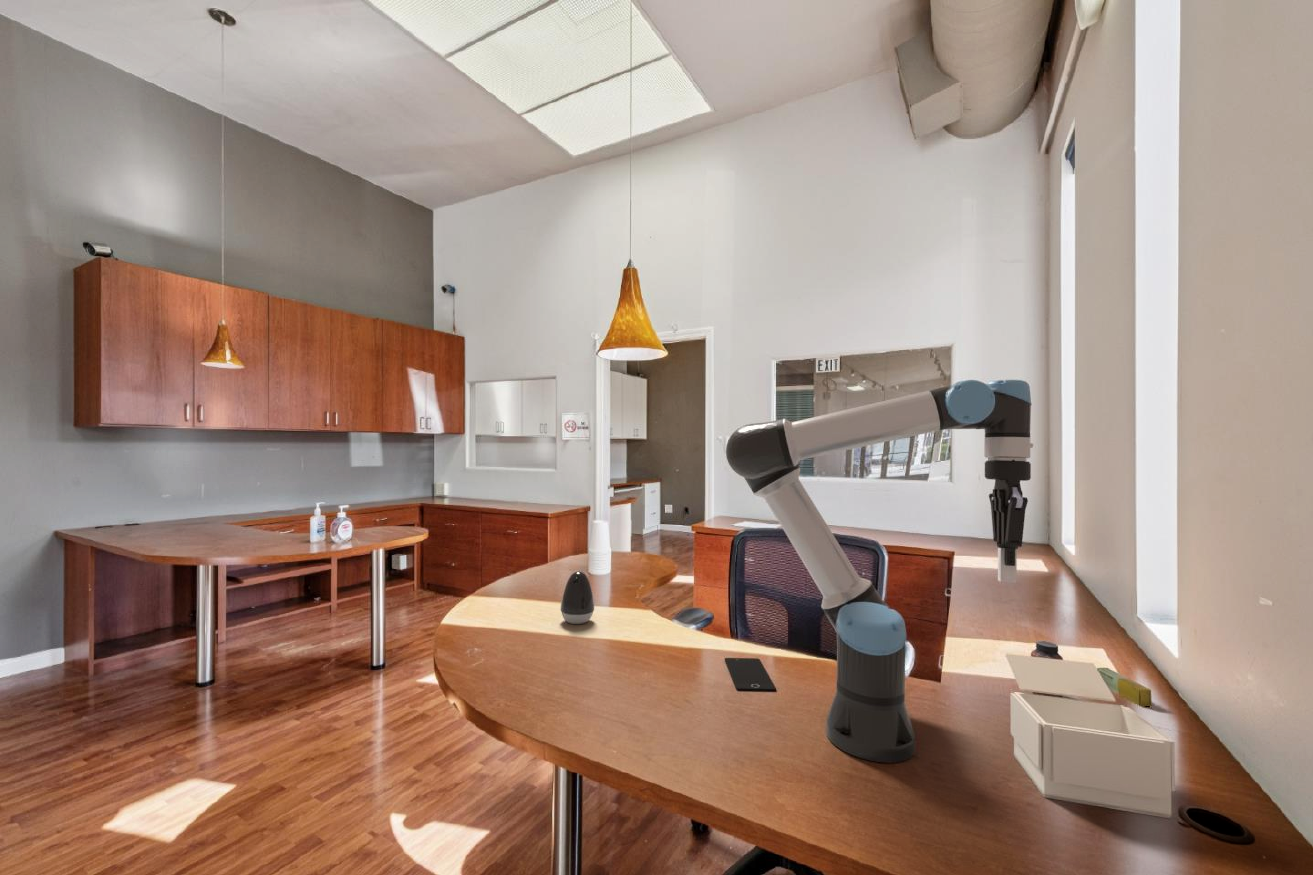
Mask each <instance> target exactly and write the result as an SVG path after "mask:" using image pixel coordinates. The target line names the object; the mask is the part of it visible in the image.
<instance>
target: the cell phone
mask: <svg viewBox="0 0 1313 875" xmlns="http://www.w3.org/2000/svg"><path fill="white" fill-rule="evenodd" d="M724 663H725V665H726V667H727V671H728V674H729V675H730V678H731V681H732V683H733V686H734V688H735V690H736V691H738V692H777V687H776V686H775V683H774V682H773V680H772V679H771V677H770V675H769V673H768V671H767V669H766V668H765V666H764V664H763V663H762V661H761V659H760V658H757V657H756V658H755V657H725V658H724Z"/></svg>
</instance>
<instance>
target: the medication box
mask: <svg viewBox="0 0 1313 875" xmlns="http://www.w3.org/2000/svg"><path fill="white" fill-rule="evenodd" d="M1096 668H1097V670H1098V672H1099V673H1100V675H1101V677H1102V678H1103V680H1104V682H1105V683H1106V685H1107V687H1108V688H1109V690H1110V692H1111V693H1112V692H1113V693H1115V694H1116V695H1118V696H1120V697H1121V696H1122V697H1121V698H1123V697H1124V698H1123V699H1125V698H1126V699H1125V700H1127V701H1129V702H1130V703H1133V704H1135V705H1136V704H1137V706H1138V705H1139V706H1138V707H1140V706H1152V707H1153V704H1152V690H1151V688H1149V687H1146V686H1144V685H1142V684H1140V683H1138V682H1136V681H1134V680H1132V679H1130V678H1129V677H1126V676H1125V675H1123V674H1120V673H1118V672H1116V671H1115V670H1112V669H1111V668H1108V667H1096Z"/></svg>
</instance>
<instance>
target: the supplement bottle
mask: <svg viewBox="0 0 1313 875" xmlns="http://www.w3.org/2000/svg"><path fill="white" fill-rule="evenodd" d="M1030 656H1031V657H1040V658H1049V659H1058V660H1064V659H1063V658H1064V657H1063V656H1062V655H1060V654H1059V645H1058V644H1056V643H1054V642H1051V641H1046V640H1037V641H1036V642H1035V649H1033V650H1032V651H1031V652H1030ZM1032 693H1033V694H1035V695H1043V696H1051V697H1059V698H1064V696H1062V695H1054V694H1046V693H1037V692H1032Z"/></svg>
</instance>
